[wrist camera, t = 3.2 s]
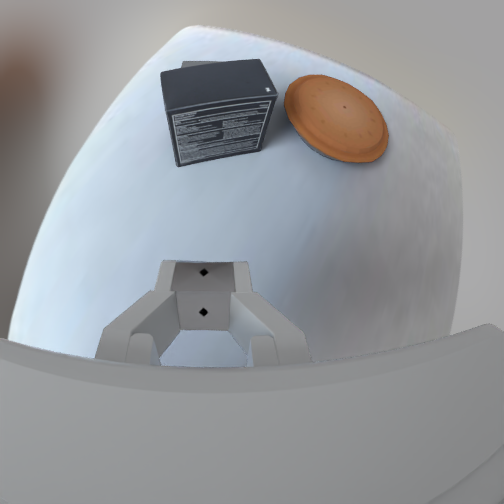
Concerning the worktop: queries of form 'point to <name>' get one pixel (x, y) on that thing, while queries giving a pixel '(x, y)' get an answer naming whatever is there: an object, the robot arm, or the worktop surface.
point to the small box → (217, 109)
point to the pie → (336, 119)
